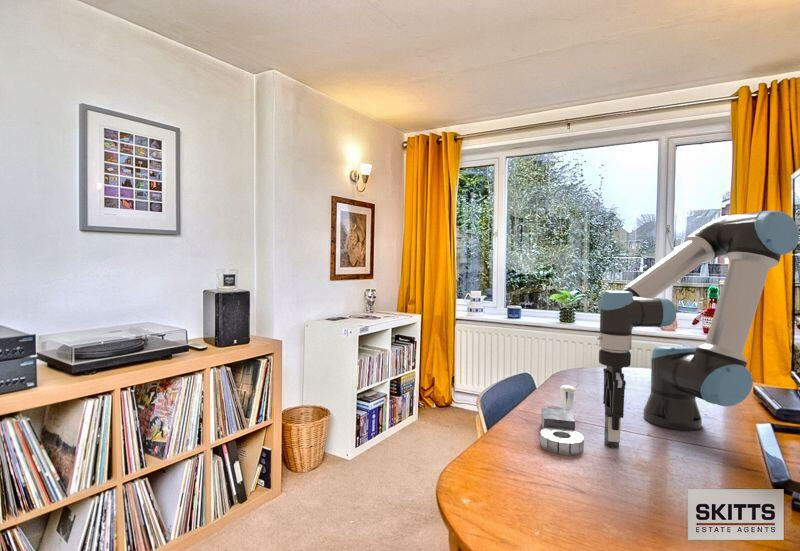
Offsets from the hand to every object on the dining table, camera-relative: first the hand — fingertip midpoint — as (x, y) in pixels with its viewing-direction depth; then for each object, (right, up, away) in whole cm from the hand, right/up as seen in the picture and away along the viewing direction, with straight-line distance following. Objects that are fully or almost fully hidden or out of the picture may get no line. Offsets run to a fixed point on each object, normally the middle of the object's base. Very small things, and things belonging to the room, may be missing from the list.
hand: (611, 437), depth 117 cm
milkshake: (-3, -1, +23) cm, 24 cm away
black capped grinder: (0, -2, 0) cm, 2 cm away
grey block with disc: (-12, -2, +5) cm, 13 cm away
